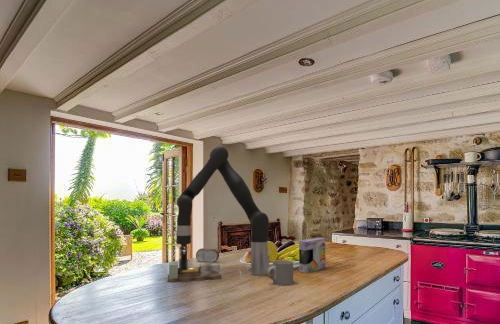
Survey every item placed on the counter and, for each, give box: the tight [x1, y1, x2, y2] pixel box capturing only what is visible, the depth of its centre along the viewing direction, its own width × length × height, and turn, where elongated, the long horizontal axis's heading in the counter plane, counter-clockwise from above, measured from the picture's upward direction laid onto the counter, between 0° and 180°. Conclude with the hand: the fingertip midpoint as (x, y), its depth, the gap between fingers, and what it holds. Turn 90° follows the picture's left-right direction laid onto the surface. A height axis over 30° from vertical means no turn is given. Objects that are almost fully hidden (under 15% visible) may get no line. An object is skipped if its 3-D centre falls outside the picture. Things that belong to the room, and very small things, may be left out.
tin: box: [195, 247, 220, 263], centre depth 219 cm, size 15×3×8 cm, turn 84°
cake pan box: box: [298, 236, 326, 274], centre depth 194 cm, size 19×5×18 cm, turn 129°
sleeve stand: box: [167, 262, 222, 283], centre depth 176 cm, size 26×10×6 cm, turn 104°
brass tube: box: [178, 258, 201, 275], centre depth 176 cm, size 17×4×8 cm, turn 104°
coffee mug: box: [266, 259, 294, 286], centre depth 167 cm, size 13×10×10 cm
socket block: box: [168, 261, 179, 279], centre depth 173 cm, size 4×8×6 cm, turn 14°
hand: (183, 268), depth 175 cm, fingers closed on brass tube, 3 cm apart
